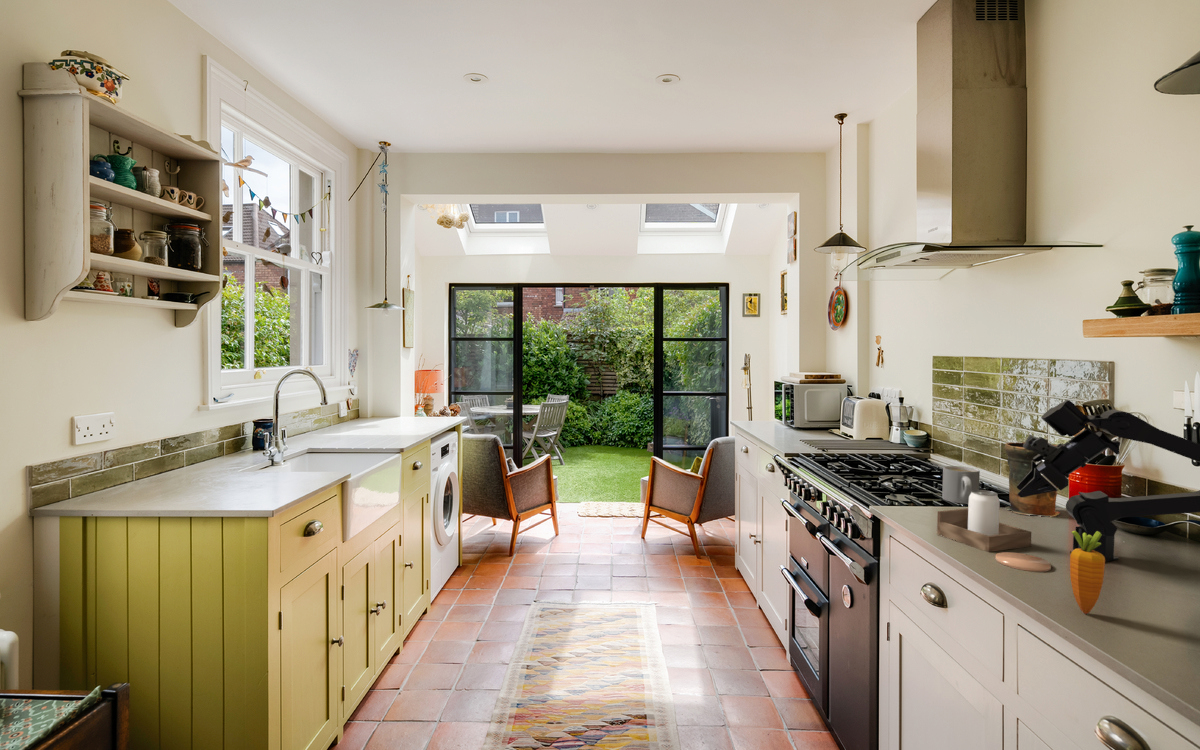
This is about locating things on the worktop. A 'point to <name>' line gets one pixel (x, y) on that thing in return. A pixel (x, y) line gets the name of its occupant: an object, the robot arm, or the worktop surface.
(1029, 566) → the saucer
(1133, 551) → the worktop surface
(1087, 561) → the carrot
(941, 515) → the open wooden tray
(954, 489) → the coffee mug
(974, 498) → the can
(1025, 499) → the vessel
